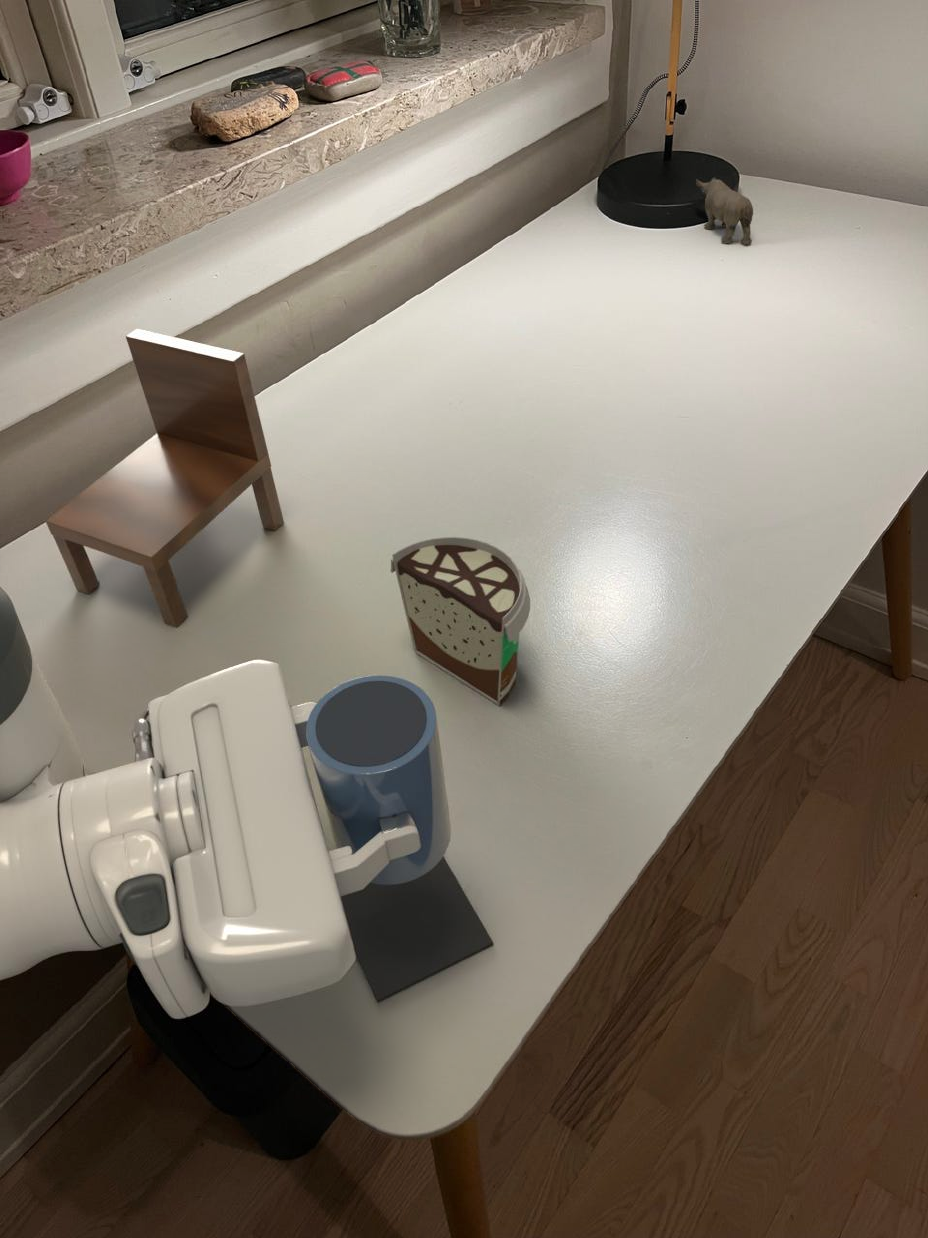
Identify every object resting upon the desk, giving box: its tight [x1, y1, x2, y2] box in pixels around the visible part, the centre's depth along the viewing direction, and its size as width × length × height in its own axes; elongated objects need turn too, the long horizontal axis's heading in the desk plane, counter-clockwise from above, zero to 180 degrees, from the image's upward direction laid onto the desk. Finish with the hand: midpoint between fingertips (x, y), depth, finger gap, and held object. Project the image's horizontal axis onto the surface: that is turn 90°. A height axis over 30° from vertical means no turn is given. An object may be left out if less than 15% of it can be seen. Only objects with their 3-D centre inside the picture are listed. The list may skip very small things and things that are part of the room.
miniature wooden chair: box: [45, 328, 285, 628], centre depth 90 cm, size 16×12×18 cm
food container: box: [390, 536, 531, 707], centre depth 80 cm, size 12×6×10 cm, turn 47°
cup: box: [306, 674, 452, 885], centre depth 57 cm, size 7×7×10 cm
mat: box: [340, 855, 494, 1003], centre depth 67 cm, size 8×8×1 cm
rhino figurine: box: [695, 177, 754, 246], centre depth 137 cm, size 4×14×6 cm, turn 18°
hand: (396, 772), depth 57 cm, fingers closed on cup, 7 cm apart
